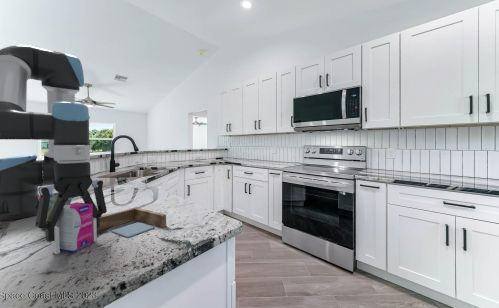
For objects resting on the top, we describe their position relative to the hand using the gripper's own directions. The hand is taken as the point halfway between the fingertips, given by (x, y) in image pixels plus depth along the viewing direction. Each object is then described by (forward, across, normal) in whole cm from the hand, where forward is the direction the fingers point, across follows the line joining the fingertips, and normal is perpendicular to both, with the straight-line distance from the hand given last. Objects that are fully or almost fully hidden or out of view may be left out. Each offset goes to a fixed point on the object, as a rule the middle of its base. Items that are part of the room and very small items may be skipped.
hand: (75, 245), depth 60 cm
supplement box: (0, 0, 0) cm, 0 cm away
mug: (0, +4, +25) cm, 25 cm away
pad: (0, +15, -2) cm, 15 cm away
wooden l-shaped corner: (0, +13, 0) cm, 13 cm away
